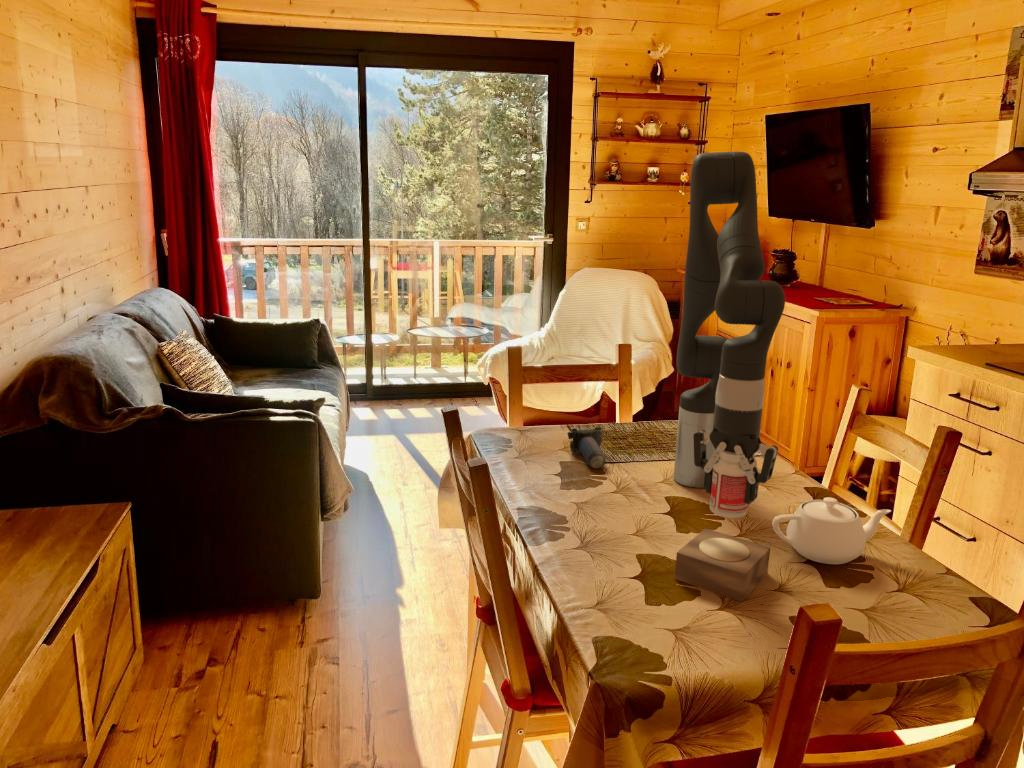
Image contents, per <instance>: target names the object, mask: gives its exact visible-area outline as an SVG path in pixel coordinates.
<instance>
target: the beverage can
mask: <svg viewBox="0 0 1024 768" xmlns="http://www.w3.org/2000/svg"><path fill="white" fill-rule="evenodd" d="M602 430H603V428H602V427H599V426H598V427H595V428H594V429H581V430H580V429H577V428H572V429H571V430H570V431H568V432H567V433H566V434H567V438H568V439H569V440H570V441H569V448H570V452H571V454H572V455H576V454H581V455H582V456H583V458H584V460H585V461H586V463H587V464H588V465H589V467H590V468H592V469H601V468H602V467H603V466H604V465H605V463H606V461H607V457H606V456H607V455H606V454H605V453H604V452H603V450H602V448H601V444H602V441H603V440H602V438H603V435H604V433H603V431H602Z"/></svg>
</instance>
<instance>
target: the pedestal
mask: <svg viewBox="0 0 1024 768" xmlns="http://www.w3.org/2000/svg"><path fill="white" fill-rule="evenodd" d="M770 554H771V547H770V546H767V545H763V544H760V543H756V542H753V541H749V540H746V539H743V538H739V537H736V536H732V535H729V534H727V533H726V534H725V533H724V532H719V531H715V530H712V529H710V528H709V529H708V528H704V529H703V530H702V531H700V532H699V533H698V534H697V535H695V536H694V538H692V539H691V540H690V541H689V542H687V543H686V544H685V545H684V546H682V547H681V548H680V549H679V550H678V551H676V557H675V558H676V559H675V571H674V580H677V581H680V582H683V583H686V584H689V585H692V586H694V587H698V588H700V589H703V590H706V591H710V592H711V593H716V594H718V595H721V596H724V597H725V598H729V599H733V600H736V601H738V602H743V601H745V599H746V598H747V597H748V596H749V595H750V594H751V593H752V591H753V590H755V588H756V587H757V586H758V585H759V584H760V582H762V580H763V579H764V578H765V577H766V576H767V575H768V571H769V564H770V563H769V562H770Z"/></svg>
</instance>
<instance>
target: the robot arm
mask: <svg viewBox="0 0 1024 768" xmlns="http://www.w3.org/2000/svg"><path fill="white" fill-rule="evenodd" d="M689 186H690V187H689V189H690V190H689V232H688V241H687V242H688V243H687V249H686V250H687V251H686V252H687V253H686V259H685V266H684V269H685V270H684V280H683V282H684V283H683V304H682V316H681V322H680V323H681V325H680V331H679V337H678V343H677V351H676V369H677V372H678V373H679V375H680V376H684V377H686V378H695V379H696V378H698V379H709V381H707V382H706V383H704V384H703V385H701V386H698V387H695V388H692V389H687V390H685V391H683V392H682V393H681V394H680V396H679V408H678V421H677V422H678V423H677V432H676V444H675V445H676V446H675V457H674V467H673V469H674V470H673V480H674V481H675V482H676V483H677V484H680V485H682V486H684V487H685V486H686V487H688V488H689V487H690V488H698V489H699V488H703V489H704V490H705V492H706V494H710V495H711V487H712V476H713V466H714V464H715V463H716V462H717V461H718V460H720V454H721V451H722V452H724V451H729V452H733V453H736V455H739V456H740V464H741V467H742V469H743V471H745V472H746V476H747V479H748V483H747V487H746V496H745V503H747V504H748V505H750V504H751V503H753V502H754V501H755V500H756V499H757V498H758V494H759V484H760V483H761V484H765V483H767V482H768V481H770V479H771V478H772V477H773V473H774V472H773V471H774V468H775V463H776V461H777V456H778V453H779V447H778V446H777V445H775V444H773V445H772V446H770V445H767V444H764V443H762V440H761V438H760V434H761V428H762V416H763V409H764V399H765V375H766V369H767V368H766V367H767V360H768V359H767V358H768V353H769V349H770V345H771V342H772V340H773V337H774V334H775V332H776V329H777V327H778V325H779V323H780V320H781V318H782V315H783V313H784V310H785V306H786V295H785V291H784V289H783V287H782V286H781V285H780V284H779V283H778V281H777V282H776V281H774V280H765V279H763V280H761V278H762V277H763V276H764V274H765V270H766V265H765V259H764V254H763V250H762V243H761V240H760V235H759V227H758V226H759V225H758V223H759V220H758V219H759V218H758V216H759V215H758V193H757V175H756V168H755V164H754V161H753V158H752V156H751V155H750V154H749V153H748V152H746V151H720V152H719V151H718V152H717V151H715V152H702V153H699V154H697V155H695V157H694V159H693V161H692V166H691V171H690V184H689ZM730 204H732V205H733V204H737V206H736V208H735V209H734V211H733V212H732V214H731V215H730V217H728V219H727V221H725V223H724V224H723V226H722V227H721V230H720V232H718V231H717V230H716V228H715V227H714V224H713V222H712V220H711V218H710V216H709V213H708V210H709V209H708V208H709V206H710V205H730ZM714 312H715V314H716V315H717V317H718V318H719V319H720V321H722V322H723V323H725V324H729V325H747V326H748V325H750V326H752V325H753V326H754V327H753V329H752V330H751V331H750V332H749V333H747V334H745V335H742V336H736V337H735V336H734V337H732V338H728V339H727V338H726V337H724V336H715V335H713V336H712V335H703V334H702V335H701V334H698V335H697V333H698V331H699V330H700V328H701V326H702V324H703V323H705V321H706V320H707V319H708V318H709V317H710V316H711V315H712V314H714ZM758 451H759V452H760V454H761V455H760V456H761V459H763V463H762V465H761V468H760V469H761V470H760V471H759V469H758V462H757V459H756V456H755V454H756V453H757V452H758ZM742 458H743V459H742Z"/></svg>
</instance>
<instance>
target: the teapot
mask: <svg viewBox="0 0 1024 768" xmlns="http://www.w3.org/2000/svg"><path fill="white" fill-rule="evenodd" d="M891 512H892V510H891V509H878V510H877V511H875V513H874V514H873V515H872V516H871V518H870V519H869V520H868V521H867V522H866V523H865V524H863V523H862V519H861V517H860V515H859V513H858V512H857V511H856V510H854V508H853V507H851V506H849V505H846V504H844V503H841V502H839V501H838V499H836V498H833V497H831V496H829V497H823V499H809V500H806V501H804V502H802V503H800V505H799V506H798V508H796V510H795V512H793V513H788V514H779V515H776V516H774V518H773V519H772V528H773V530H774V532H775V534H776V535H777V536H778V537H780V538H781V539H782V541H785V542H786V543H789V544H790V546H791V547H792V548H794V549H795V550H796V552H797V553H798V555H801V556H802V557H804V558H806V559H808V560H809V561H810V560H811V561H813V562H817V563H820V564H826V565H843V564H847V563H849V562H851V561H853V560H855V559H857V558H858V557H860V556H861V555H862V554H863V553H864V551H865V550H866V549H865V548H866V543H867V542H868V541H869V540H871V539H872V538H873V537H874V535H875V534H876V532H877V529H878V527H879V525H880V522H881V520H882V518H883V517H884V516H885V515H887V514H889V513H891ZM782 521H788V524H787V527H786V530H785V531H786V532H785V533H786V535H785V534H784V533H783V532H782V531H781V529H780V523H781V522H782Z"/></svg>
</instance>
